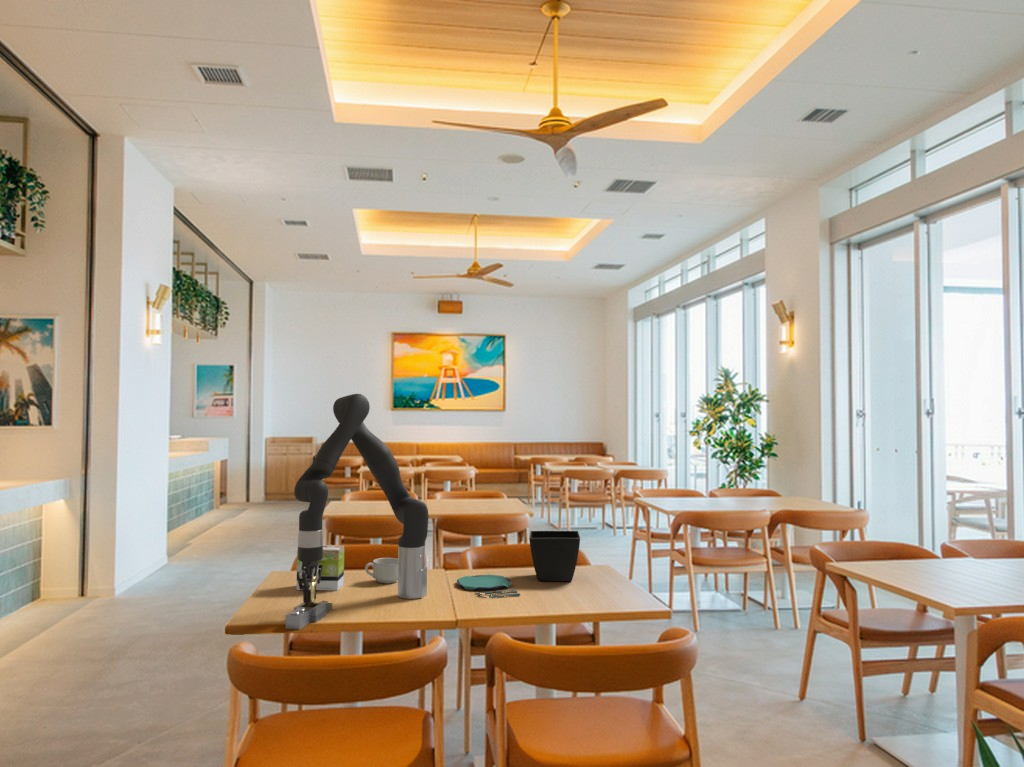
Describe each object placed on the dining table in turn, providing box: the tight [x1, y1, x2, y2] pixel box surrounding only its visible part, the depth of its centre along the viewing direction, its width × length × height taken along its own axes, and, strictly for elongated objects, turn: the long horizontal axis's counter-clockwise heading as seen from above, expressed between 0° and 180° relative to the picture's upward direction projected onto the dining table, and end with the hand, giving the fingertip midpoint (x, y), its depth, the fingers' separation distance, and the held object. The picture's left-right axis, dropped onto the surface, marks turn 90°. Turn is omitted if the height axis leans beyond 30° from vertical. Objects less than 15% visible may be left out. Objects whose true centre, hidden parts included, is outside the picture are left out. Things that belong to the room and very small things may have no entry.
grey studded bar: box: [285, 600, 333, 630], centre depth 236 cm, size 7×23×5 cm, turn 170°
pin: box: [304, 576, 316, 607], centre depth 236 cm, size 4×4×10 cm
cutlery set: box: [456, 574, 521, 599], centre depth 276 cm, size 20×30×2 cm, turn 16°
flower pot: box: [528, 530, 581, 582], centre depth 293 cm, size 19×19×17 cm
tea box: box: [296, 544, 345, 592], centre depth 277 cm, size 15×10×15 cm, turn 90°
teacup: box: [364, 557, 398, 584], centre depth 286 cm, size 14×11×8 cm
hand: (309, 600), depth 236 cm, fingers closed on pin, 3 cm apart
